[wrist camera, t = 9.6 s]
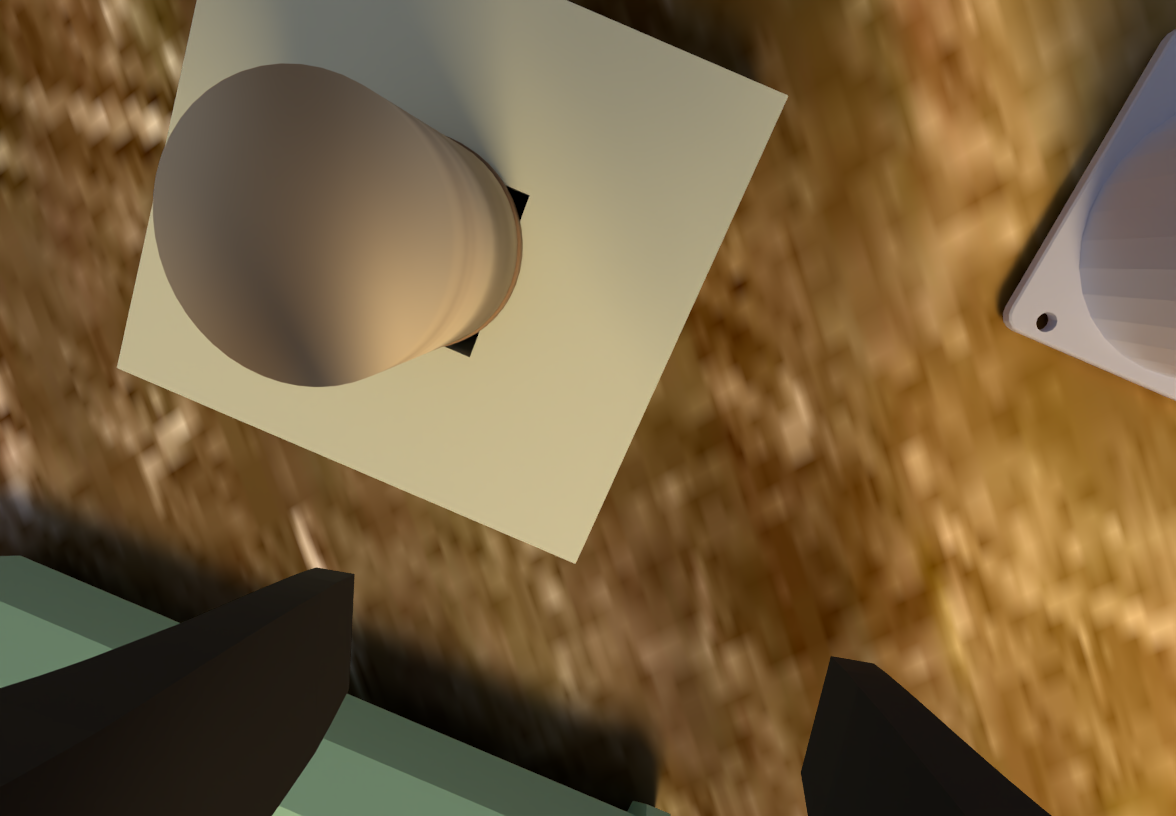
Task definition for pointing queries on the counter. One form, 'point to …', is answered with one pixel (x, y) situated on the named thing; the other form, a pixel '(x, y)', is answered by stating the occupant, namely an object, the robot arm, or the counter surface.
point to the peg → (328, 227)
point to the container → (349, 748)
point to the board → (550, 245)
